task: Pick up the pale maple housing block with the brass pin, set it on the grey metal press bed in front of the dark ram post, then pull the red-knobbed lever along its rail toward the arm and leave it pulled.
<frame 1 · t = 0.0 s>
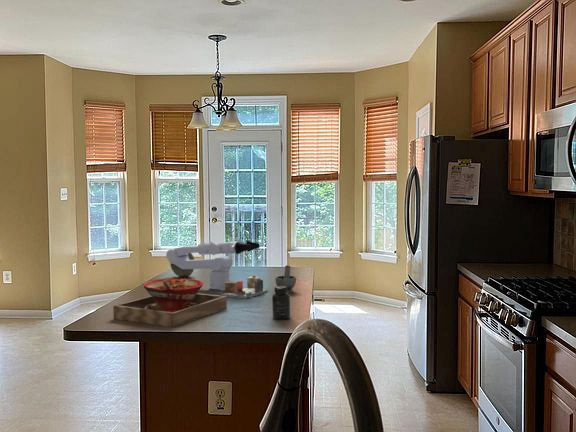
hand: (254, 246, 256), 22 cm above the countertop, tool horizontal, fingers open, 7 cm apart
wooden tray: (172, 313, 215), on the countertop
rail: (235, 296, 246), on the countertop
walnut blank: (231, 292, 257), on the countertop
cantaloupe: (182, 277, 302), on the countertop
press: (250, 293, 254), on the countertop
supplement bottle: (281, 318, 205), on the countertop
stew: (172, 314, 215), resting in wooden tray
mortar and pestle: (286, 291, 258), on the countertop
lever: (240, 287, 245), point 4 cm above the countertop, slide at 0.0 cm
housing: (254, 288, 266), on the countertop
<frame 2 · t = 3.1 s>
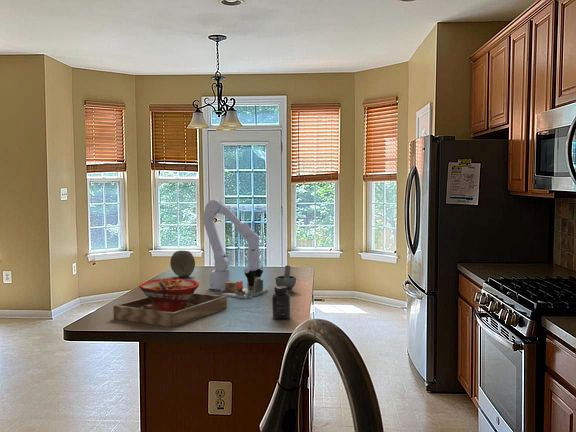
hand: (254, 285, 266), 1 cm above the countertop, tool pointing down, fingers closed on housing, 4 cm apart
stew: (168, 314, 214), resting in wooden tray
housing: (254, 288, 266), on the countertop, touching gripper
everything else where it was.
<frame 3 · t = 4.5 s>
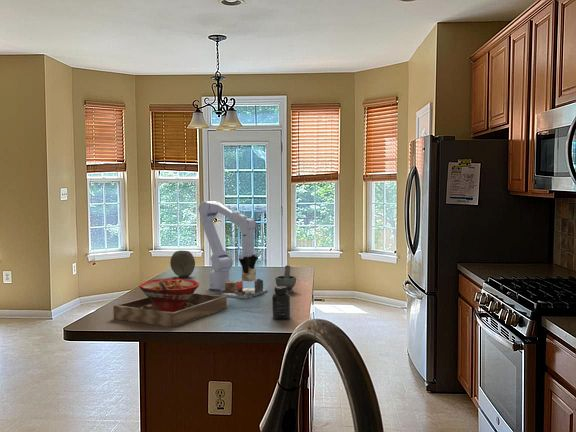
hand: (248, 272, 256), 9 cm above the countertop, tool pointing down, fingers closed on housing, 4 cm apart
housing: (248, 280, 257), point 6 cm above the countertop, touching gripper
everything else where it was.
when the fingers open (4 cm above the countertop, at t = 6.0 s): housing stays where it is, resting on press.
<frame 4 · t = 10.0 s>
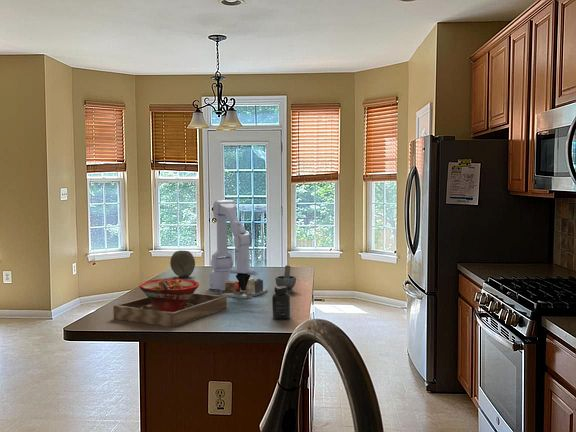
hand: (243, 290, 244), 3 cm above the countertop, tool pointing down, fingers closed
lever: (237, 287, 245), point 4 cm above the countertop, slide at 1.2 cm, touching gripper
housing: (247, 290, 255), point 1 cm above the countertop, touching press
everything else where it was.
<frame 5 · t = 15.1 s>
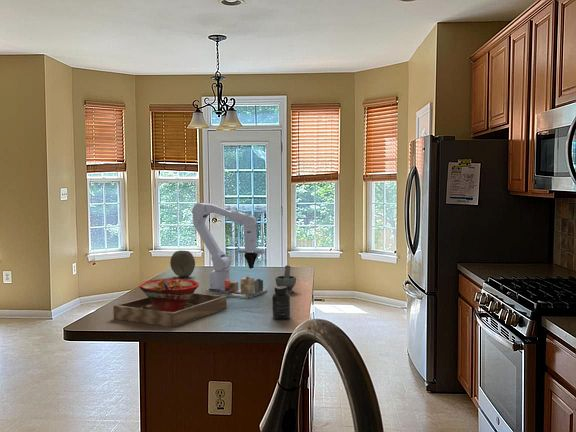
hand: (251, 268, 263), 10 cm above the countertop, tool pointing down, fingers closed
lever: (227, 286, 248), point 4 cm above the countertop, slide at 7.0 cm
everything else where it was.
at the end: housing inside the target area on the press (0.2 cm from its centre), point 1.3 cm above the press's base; housing tilted 0°; lever slide at 7.0 cm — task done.
